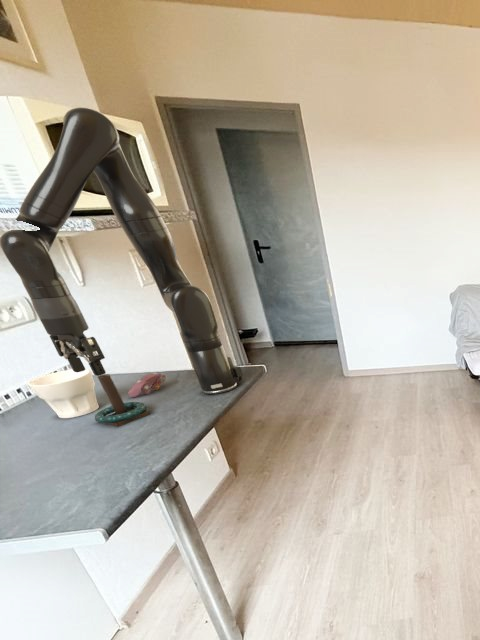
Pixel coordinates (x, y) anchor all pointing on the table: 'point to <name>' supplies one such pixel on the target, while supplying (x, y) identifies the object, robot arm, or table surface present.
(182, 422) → the table surface
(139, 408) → the ring
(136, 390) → the pink oval lump
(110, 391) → the post
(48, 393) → the cup
